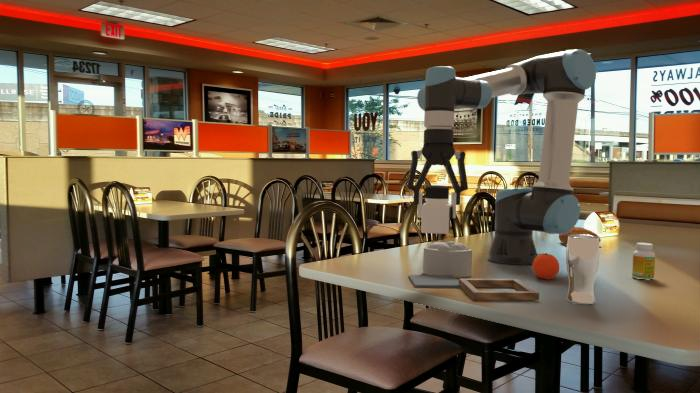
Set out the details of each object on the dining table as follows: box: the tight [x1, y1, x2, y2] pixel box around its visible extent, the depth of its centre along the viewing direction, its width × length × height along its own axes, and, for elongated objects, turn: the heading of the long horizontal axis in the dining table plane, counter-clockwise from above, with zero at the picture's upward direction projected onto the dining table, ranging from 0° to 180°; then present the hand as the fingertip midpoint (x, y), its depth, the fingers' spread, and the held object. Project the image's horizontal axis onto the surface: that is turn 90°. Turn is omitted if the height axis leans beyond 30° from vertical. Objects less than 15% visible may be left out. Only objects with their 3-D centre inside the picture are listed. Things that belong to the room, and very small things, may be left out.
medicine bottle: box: [420, 184, 452, 235], centre depth 147 cm, size 7×7×12 cm
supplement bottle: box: [631, 242, 656, 280], centre depth 157 cm, size 5×5×10 cm
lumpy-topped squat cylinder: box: [422, 241, 473, 278], centre depth 160 cm, size 10×13×9 cm
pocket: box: [458, 278, 540, 301], centre depth 138 cm, size 15×15×2 cm
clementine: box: [531, 252, 560, 280], centre depth 155 cm, size 8×7×7 cm
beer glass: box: [565, 235, 600, 305], centre depth 130 cm, size 7×7×15 cm
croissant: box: [558, 226, 601, 246], centre depth 219 cm, size 14×16×8 cm
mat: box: [408, 274, 462, 289], centre depth 148 cm, size 12×12×1 cm
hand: (436, 217), depth 147 cm, fingers closed on medicine bottle, 8 cm apart
